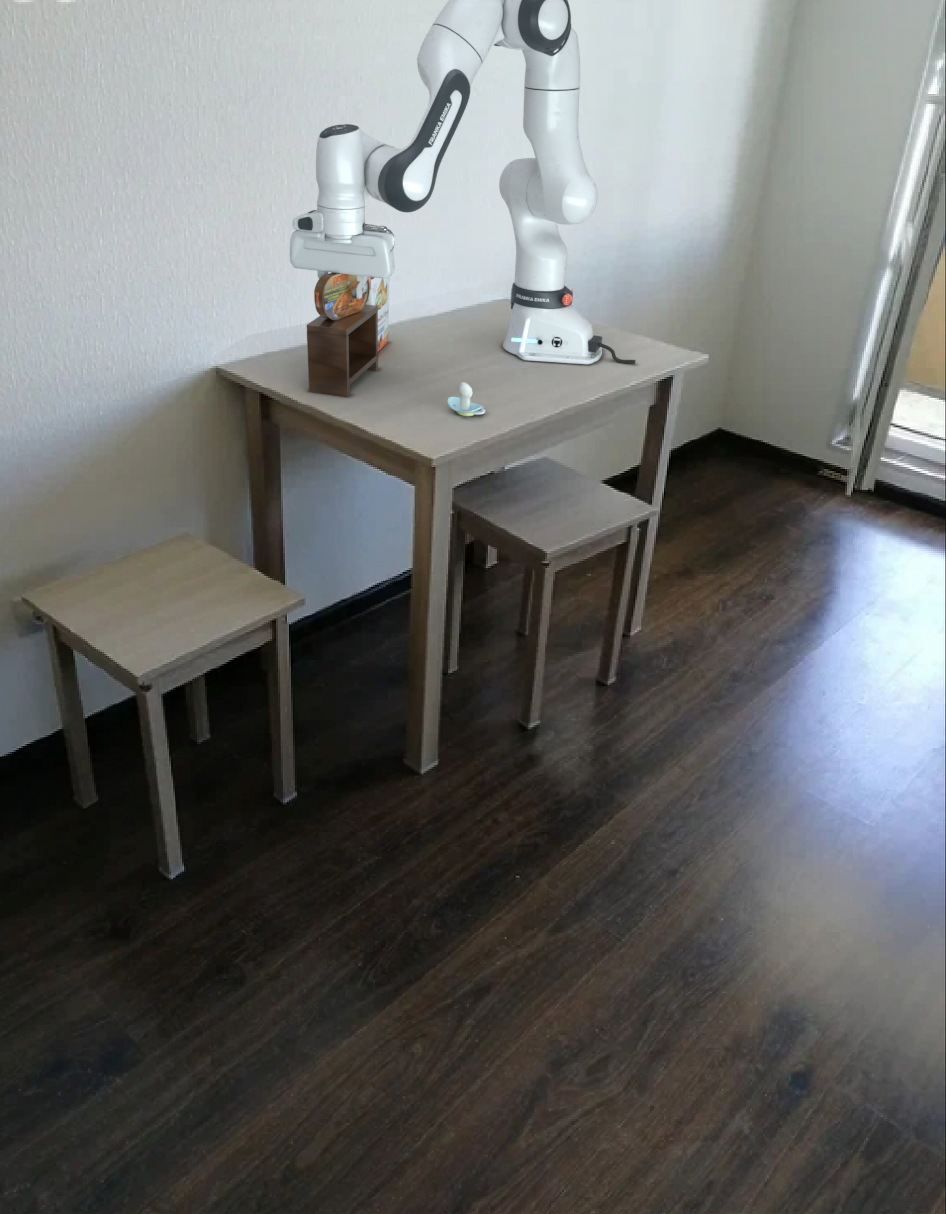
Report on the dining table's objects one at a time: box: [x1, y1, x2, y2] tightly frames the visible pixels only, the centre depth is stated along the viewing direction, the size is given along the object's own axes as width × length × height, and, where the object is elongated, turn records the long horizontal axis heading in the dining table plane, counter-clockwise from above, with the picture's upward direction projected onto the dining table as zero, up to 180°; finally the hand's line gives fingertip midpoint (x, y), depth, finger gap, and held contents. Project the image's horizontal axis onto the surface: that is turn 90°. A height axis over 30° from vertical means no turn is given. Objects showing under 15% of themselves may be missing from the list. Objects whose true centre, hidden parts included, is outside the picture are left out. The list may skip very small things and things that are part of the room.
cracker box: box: [366, 277, 390, 353], centre depth 212 cm, size 14×6×21 cm, turn 168°
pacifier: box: [447, 381, 486, 417], centre depth 187 cm, size 7×6×6 cm
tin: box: [313, 272, 370, 320], centre depth 191 cm, size 15×3×8 cm, turn 150°
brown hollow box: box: [306, 304, 379, 398], centre depth 197 cm, size 8×18×13 cm, turn 165°
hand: (343, 296), depth 191 cm, fingers open, 4 cm apart
